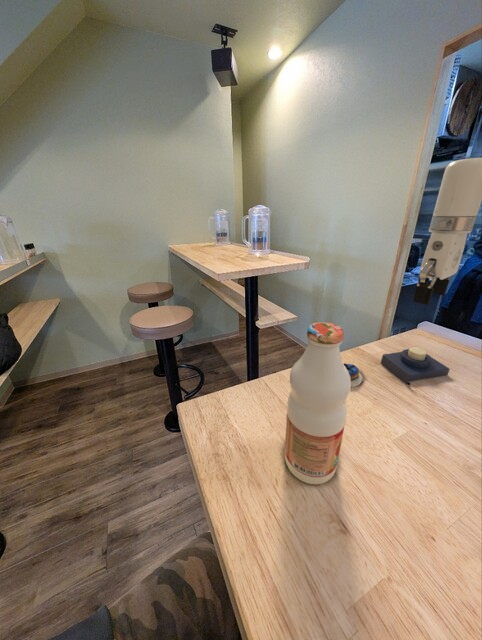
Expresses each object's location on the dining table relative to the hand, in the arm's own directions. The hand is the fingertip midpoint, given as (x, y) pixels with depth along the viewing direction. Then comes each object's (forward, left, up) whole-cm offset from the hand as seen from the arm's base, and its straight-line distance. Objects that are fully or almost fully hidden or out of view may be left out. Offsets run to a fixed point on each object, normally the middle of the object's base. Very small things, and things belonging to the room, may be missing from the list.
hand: (429, 298), depth 62 cm
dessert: (+18, +5, -22) cm, 29 cm away
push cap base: (-1, +1, -21) cm, 21 cm away
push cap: (-1, +1, -17) cm, 17 cm away
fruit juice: (+32, +30, -22) cm, 49 cm away
